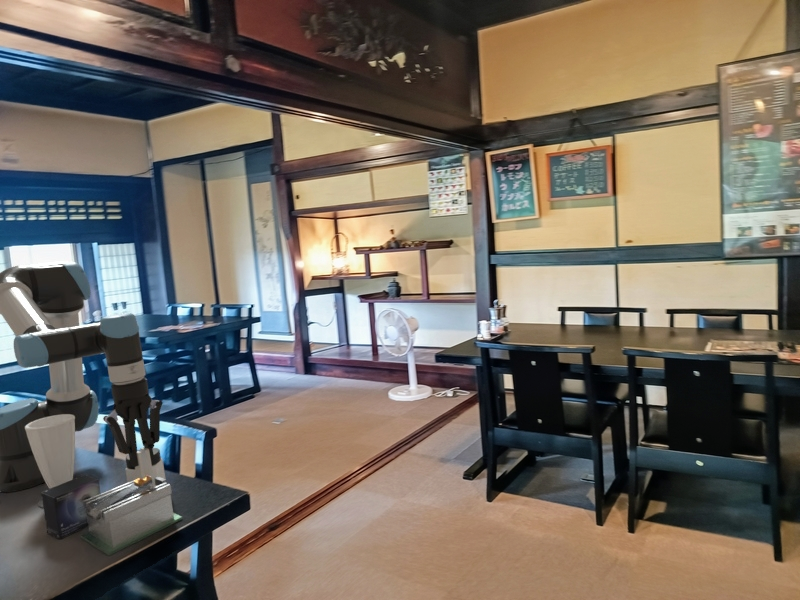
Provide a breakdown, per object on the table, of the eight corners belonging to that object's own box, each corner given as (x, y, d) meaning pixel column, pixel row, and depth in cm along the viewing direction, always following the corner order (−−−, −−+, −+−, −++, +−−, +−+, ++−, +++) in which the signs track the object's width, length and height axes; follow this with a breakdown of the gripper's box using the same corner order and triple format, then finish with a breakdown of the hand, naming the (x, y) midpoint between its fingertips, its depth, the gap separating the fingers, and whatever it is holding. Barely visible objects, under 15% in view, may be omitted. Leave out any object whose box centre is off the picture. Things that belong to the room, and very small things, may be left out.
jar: (132, 508, 136) (125, 463, 135) (128, 497, 143) (121, 454, 141) (170, 497, 141) (164, 453, 139) (164, 486, 148) (158, 444, 146)
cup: (93, 494, 146) (81, 418, 144) (44, 512, 138) (30, 431, 136) (79, 484, 154) (67, 411, 152) (32, 500, 146) (19, 423, 143)
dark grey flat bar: (95, 521, 118) (92, 514, 117) (86, 516, 120) (83, 509, 120) (154, 484, 128) (152, 477, 128) (145, 480, 131) (142, 473, 130)
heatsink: (81, 537, 124) (75, 501, 123) (152, 505, 137) (147, 472, 136) (109, 555, 115) (102, 517, 114) (182, 519, 128) (177, 484, 127)
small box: (60, 540, 123) (53, 497, 122) (46, 534, 127) (38, 492, 126) (105, 518, 132) (99, 477, 131) (91, 513, 136) (85, 473, 135)
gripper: (104, 390, 117) (122, 492, 120) (165, 373, 129) (181, 466, 132) (89, 387, 122) (106, 485, 125) (150, 370, 133) (165, 461, 136)
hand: (144, 475), depth 128 cm, fingers closed
